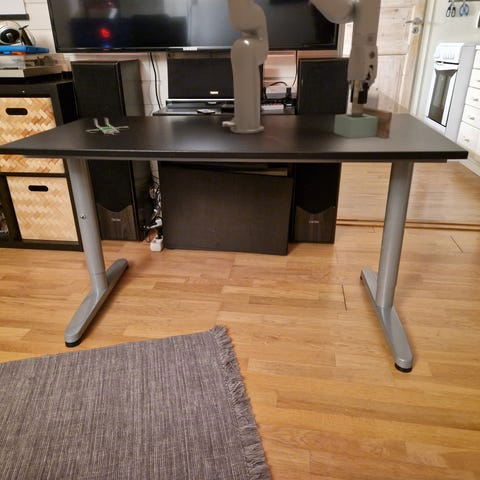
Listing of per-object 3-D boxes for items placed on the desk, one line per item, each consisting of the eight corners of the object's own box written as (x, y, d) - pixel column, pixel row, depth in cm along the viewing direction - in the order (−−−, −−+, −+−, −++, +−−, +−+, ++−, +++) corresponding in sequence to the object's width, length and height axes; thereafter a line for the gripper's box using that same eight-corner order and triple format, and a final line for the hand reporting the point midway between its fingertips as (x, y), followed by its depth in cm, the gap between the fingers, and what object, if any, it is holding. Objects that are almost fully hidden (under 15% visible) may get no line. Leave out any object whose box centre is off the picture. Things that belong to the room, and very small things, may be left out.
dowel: (355, 117, 133) (359, 77, 127) (349, 115, 136) (352, 77, 130) (364, 116, 134) (369, 77, 128) (358, 114, 137) (362, 76, 131)
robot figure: (81, 128, 167) (90, 137, 149) (79, 120, 165) (88, 128, 147) (121, 124, 173) (134, 132, 156) (120, 116, 172) (133, 124, 154)
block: (349, 138, 132) (351, 119, 129) (333, 132, 140) (335, 115, 138) (376, 135, 135) (378, 117, 132) (358, 130, 143) (360, 113, 140)
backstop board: (334, 146, 126) (337, 117, 123) (307, 135, 142) (309, 109, 138) (388, 141, 132) (392, 112, 128) (356, 131, 148) (359, 105, 144)
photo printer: (376, 122, 162) (381, 90, 157) (374, 124, 159) (378, 91, 153) (351, 121, 167) (354, 89, 161) (348, 122, 164) (351, 90, 158)
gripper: (391, 40, 119) (383, 105, 127) (359, 41, 133) (353, 99, 141) (369, 40, 117) (363, 107, 125) (339, 41, 131) (334, 101, 139)
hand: (358, 102), depth 133 cm, fingers closed on dowel, 3 cm apart
